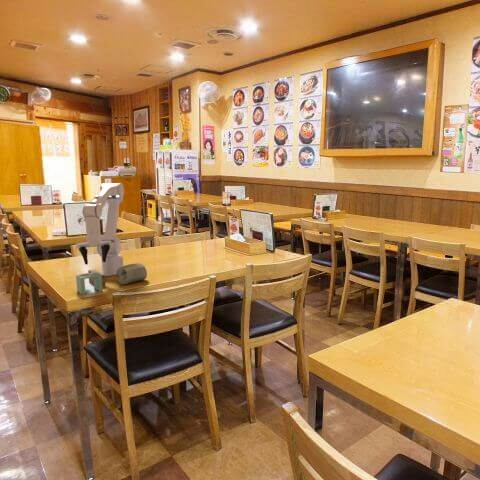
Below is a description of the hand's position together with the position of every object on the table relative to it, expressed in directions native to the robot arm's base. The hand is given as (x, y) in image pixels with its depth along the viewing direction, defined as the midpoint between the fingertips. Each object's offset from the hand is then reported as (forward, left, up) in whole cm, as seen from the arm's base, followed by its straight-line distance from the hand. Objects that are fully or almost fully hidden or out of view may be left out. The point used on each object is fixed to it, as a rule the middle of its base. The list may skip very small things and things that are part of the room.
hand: (95, 263), depth 178 cm
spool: (-13, +9, -9) cm, 18 cm away
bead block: (+6, +11, -9) cm, 15 cm away
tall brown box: (0, 0, -9) cm, 9 cm away
